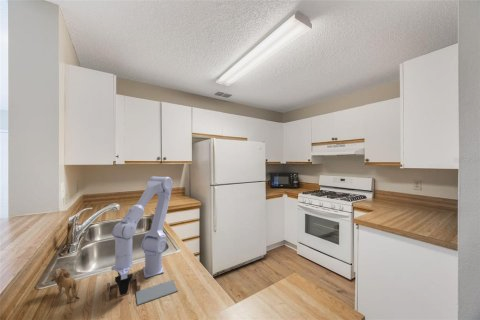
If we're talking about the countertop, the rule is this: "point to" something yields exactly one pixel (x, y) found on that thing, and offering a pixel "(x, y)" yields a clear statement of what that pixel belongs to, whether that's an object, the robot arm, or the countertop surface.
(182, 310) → the countertop surface
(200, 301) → the countertop surface
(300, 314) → the countertop surface
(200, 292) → the countertop surface
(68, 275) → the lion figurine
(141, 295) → the slate mat
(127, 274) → the terracotta block
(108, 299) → the walnut cradle
